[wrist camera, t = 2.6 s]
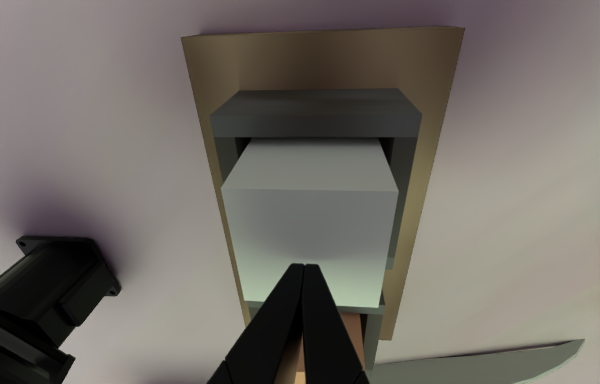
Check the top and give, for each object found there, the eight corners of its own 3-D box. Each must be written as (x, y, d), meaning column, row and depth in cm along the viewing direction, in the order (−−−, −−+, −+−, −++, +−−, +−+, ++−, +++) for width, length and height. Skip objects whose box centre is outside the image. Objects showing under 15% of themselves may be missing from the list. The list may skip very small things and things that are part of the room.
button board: (251, 310, 26) (233, 382, 21) (198, 34, 14) (126, 45, 9) (387, 318, 25) (401, 396, 20) (447, 26, 13) (521, 33, 8)
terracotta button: (278, 345, 20) (268, 414, 16) (272, 297, 17) (258, 368, 14) (352, 350, 19) (357, 423, 16) (358, 302, 16) (366, 377, 13)
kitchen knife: (270, 414, 30) (628, 395, 21) (266, 409, 29) (631, 388, 21) (277, 371, 34) (587, 340, 25) (273, 366, 33) (588, 332, 24)
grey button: (264, 232, 14) (244, 300, 11) (252, 137, 12) (220, 188, 8) (366, 235, 14) (378, 307, 10) (377, 137, 11) (398, 191, 8)
